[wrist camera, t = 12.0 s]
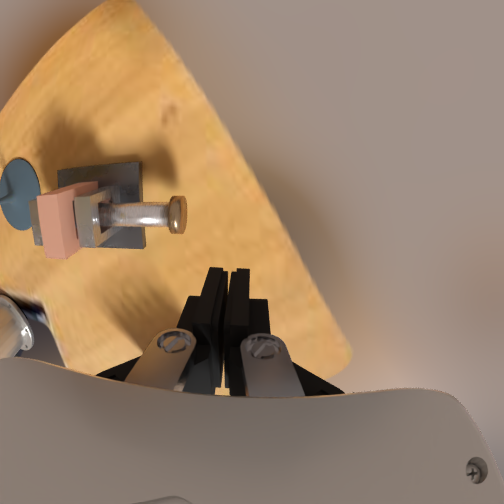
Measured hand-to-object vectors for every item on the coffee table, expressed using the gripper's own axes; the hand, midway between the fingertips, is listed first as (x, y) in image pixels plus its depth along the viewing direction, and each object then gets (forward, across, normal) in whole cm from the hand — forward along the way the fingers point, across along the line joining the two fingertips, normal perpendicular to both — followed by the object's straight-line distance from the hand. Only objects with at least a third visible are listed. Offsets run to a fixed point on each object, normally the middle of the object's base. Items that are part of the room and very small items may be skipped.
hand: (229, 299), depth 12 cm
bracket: (+19, +18, 0) cm, 26 cm away
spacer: (+18, +18, 0) cm, 26 cm away
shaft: (+16, +10, 0) cm, 19 cm away
